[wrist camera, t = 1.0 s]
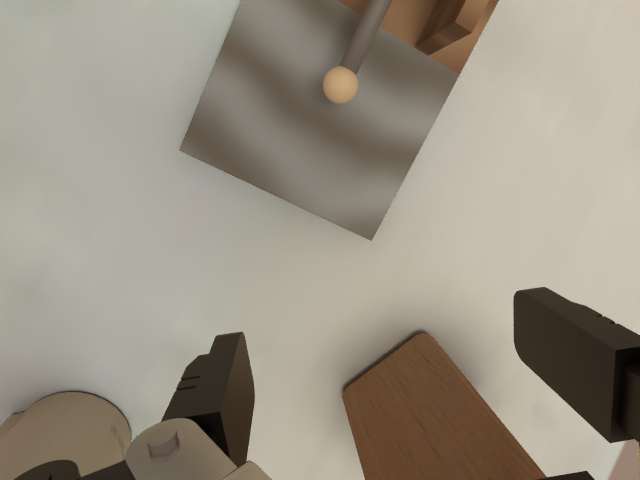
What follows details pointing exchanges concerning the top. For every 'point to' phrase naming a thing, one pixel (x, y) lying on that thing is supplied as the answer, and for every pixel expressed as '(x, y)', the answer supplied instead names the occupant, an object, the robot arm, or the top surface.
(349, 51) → the cord block
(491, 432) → the block
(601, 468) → the top surface
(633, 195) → the top surface
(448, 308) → the top surface
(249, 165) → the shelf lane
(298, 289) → the top surface
